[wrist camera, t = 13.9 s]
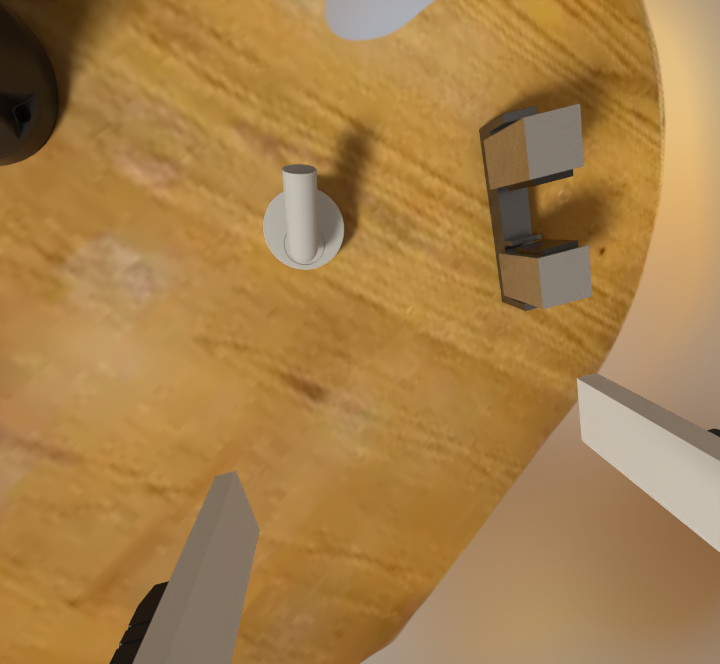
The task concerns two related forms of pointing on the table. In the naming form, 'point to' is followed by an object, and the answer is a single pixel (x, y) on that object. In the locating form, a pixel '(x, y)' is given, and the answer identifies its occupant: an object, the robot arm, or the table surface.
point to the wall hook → (303, 221)
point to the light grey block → (547, 273)
